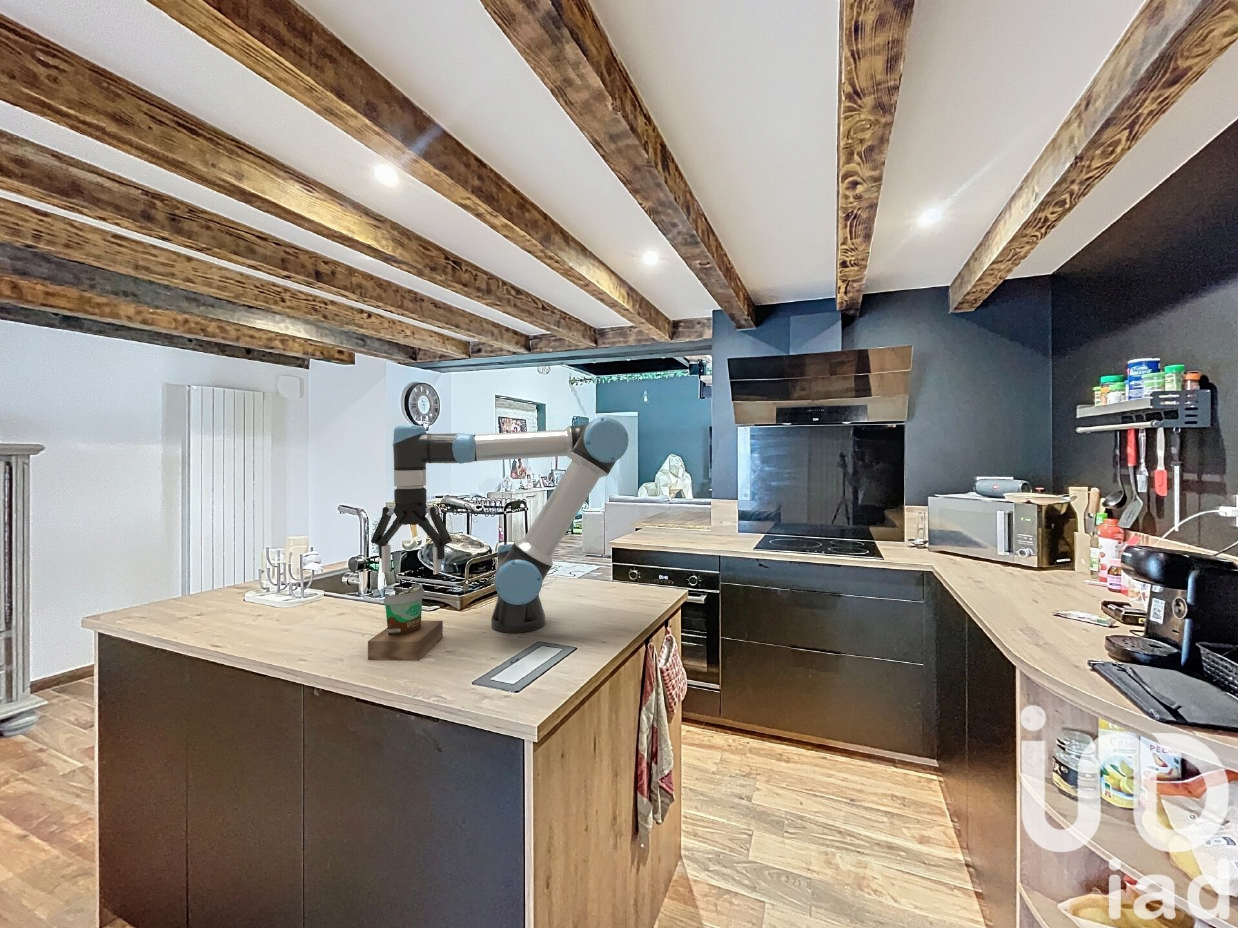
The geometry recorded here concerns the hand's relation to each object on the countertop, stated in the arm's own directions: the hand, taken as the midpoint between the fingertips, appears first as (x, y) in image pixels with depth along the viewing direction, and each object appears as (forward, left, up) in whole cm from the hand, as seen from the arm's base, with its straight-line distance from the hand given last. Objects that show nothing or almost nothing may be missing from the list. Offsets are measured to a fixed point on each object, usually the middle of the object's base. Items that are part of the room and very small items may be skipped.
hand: (411, 571), depth 132 cm
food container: (0, 0, -15) cm, 15 cm away
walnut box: (+1, 0, -20) cm, 20 cm away
